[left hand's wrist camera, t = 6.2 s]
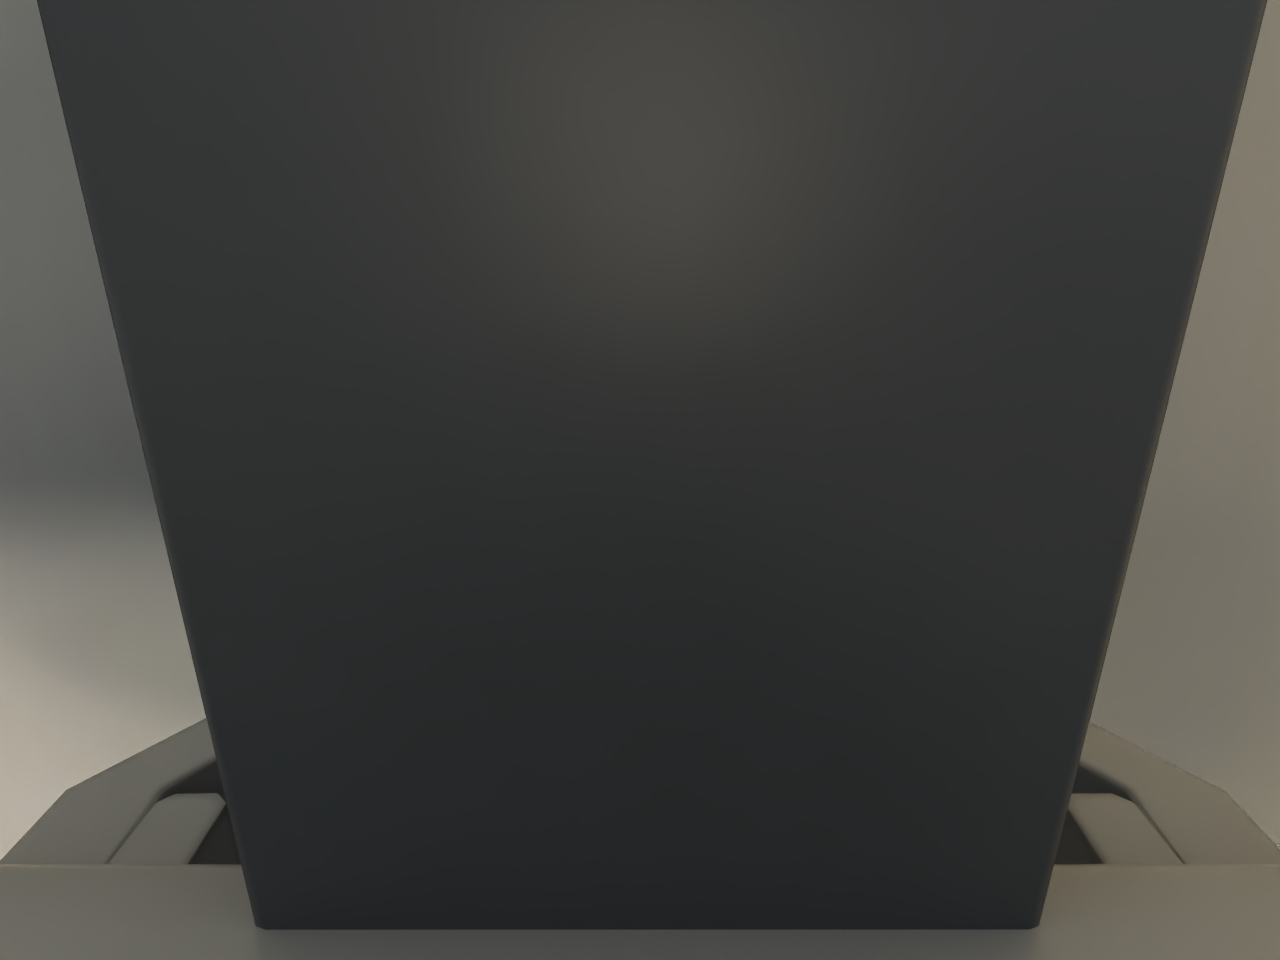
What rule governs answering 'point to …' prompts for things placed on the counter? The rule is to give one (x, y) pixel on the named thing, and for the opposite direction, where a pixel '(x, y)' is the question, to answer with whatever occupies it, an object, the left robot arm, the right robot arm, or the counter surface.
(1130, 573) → the counter surface
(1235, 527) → the counter surface
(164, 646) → the counter surface
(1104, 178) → the post
